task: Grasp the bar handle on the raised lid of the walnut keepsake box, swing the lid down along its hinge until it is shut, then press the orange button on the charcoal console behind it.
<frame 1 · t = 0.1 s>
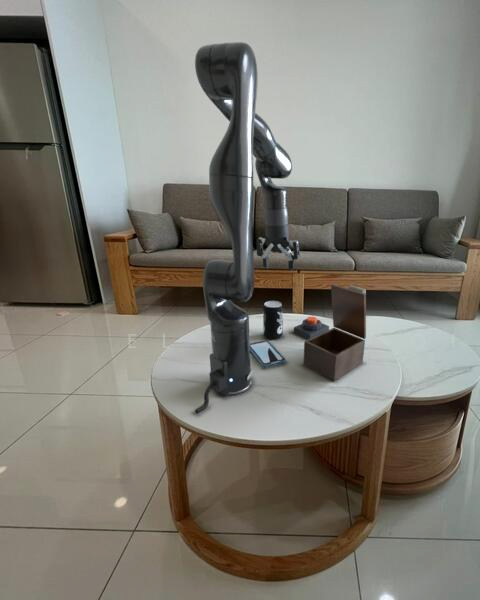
hand: (278, 268, 109), 22 cm above the table, tool pointing down, fingers open, 8 cm apart
keepsake box: (333, 364, 95), on the table
lid: (353, 308, 95), point 16 cm above the table, hinge at 80.0°
beverage can: (273, 336, 111), on the table
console: (311, 332, 115), on the table
button: (311, 320, 114), point 4 cm above the table, slide at 0.1 cm
smartphone: (265, 354, 99), on the table
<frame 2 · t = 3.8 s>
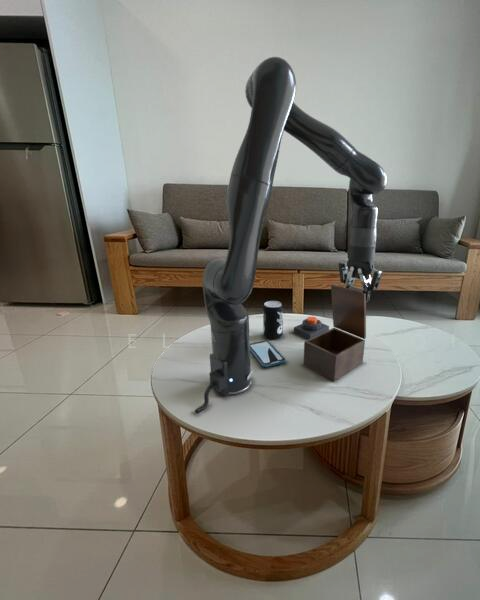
hand: (356, 299, 95), 18 cm above the table, tool pointing down, fingers closed on lid, 5 cm apart
lid: (353, 308, 95), point 16 cm above the table, hinge at 80.0°, touching gripper
everything else where it was.
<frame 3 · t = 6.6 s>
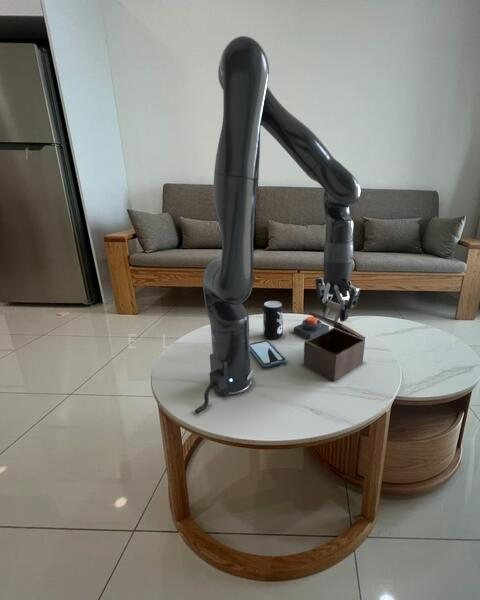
hand: (335, 317, 90), 15 cm above the table, tool pointing down, fingers closed on lid, 5 cm apart
lid: (341, 317, 92), point 14 cm above the table, hinge at 33.8°, touching gripper
everything else where it was.
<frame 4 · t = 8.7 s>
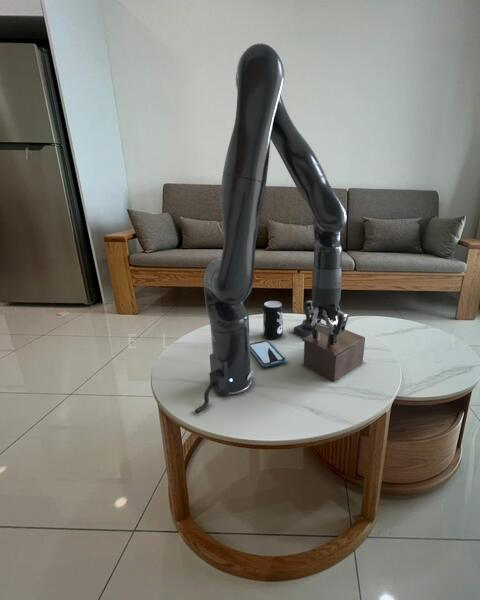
hand: (324, 341, 89), 9 cm above the table, tool pointing down, fingers closed on lid, 5 cm apart
lid: (334, 331, 91), point 11 cm above the table, hinge at 1.9°, touching gripper
everything else where it was.
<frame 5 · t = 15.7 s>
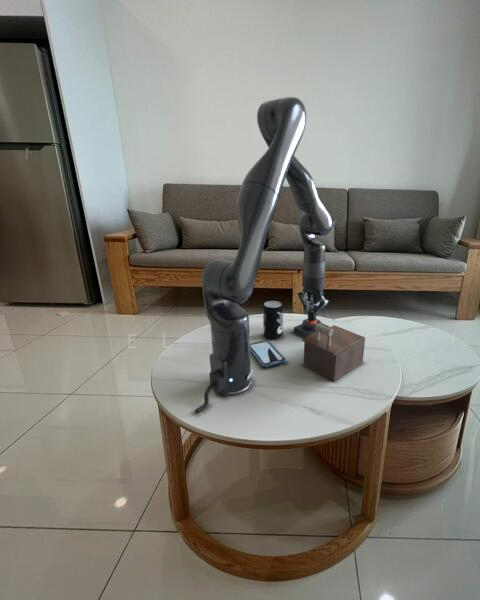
hand: (311, 320, 114), 4 cm above the table, tool pointing down, fingers closed
lid: (334, 331, 91), point 11 cm above the table, hinge at 1.6°
button: (311, 323, 114), point 4 cm above the table, slide at -0.9 cm, touching gripper
everything else where it was.
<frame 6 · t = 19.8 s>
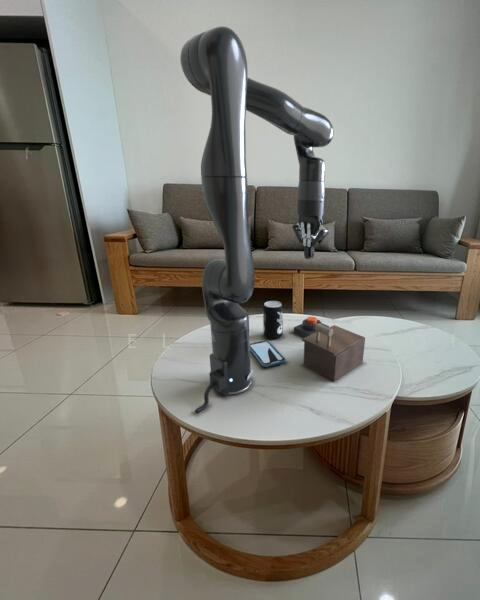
hand: (309, 258, 96), 29 cm above the table, tool pointing down, fingers closed
button: (311, 320, 114), point 4 cm above the table, slide at 0.1 cm
everything else where it was.
at the end: lid at +2° (first picture: +80°); button pushed in 1.1 cm at the most during the clip, back to where it started at the end; button slide at 0.1 cm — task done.
